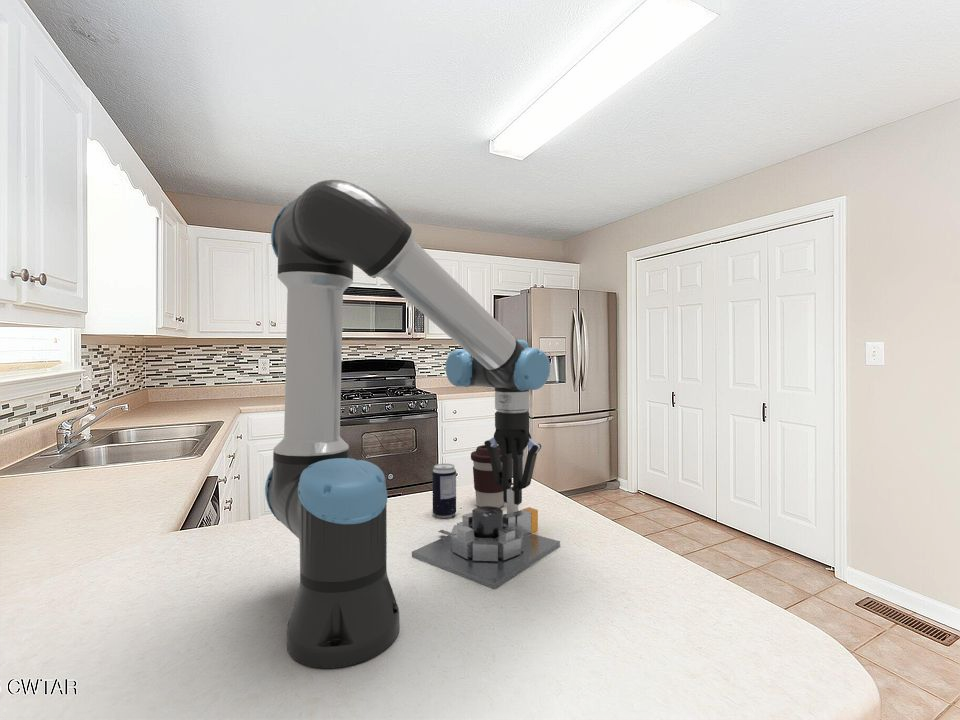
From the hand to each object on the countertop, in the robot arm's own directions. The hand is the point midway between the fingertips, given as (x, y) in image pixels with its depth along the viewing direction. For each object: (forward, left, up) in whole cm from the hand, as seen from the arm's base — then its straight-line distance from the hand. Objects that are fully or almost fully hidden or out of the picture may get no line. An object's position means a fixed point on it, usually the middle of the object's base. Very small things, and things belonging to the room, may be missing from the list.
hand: (512, 517), depth 104 cm
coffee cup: (+12, +15, -3) cm, 19 cm away
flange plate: (-11, 0, -3) cm, 11 cm away
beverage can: (-1, +19, -3) cm, 19 cm away
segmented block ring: (-8, -2, -2) cm, 9 cm away
